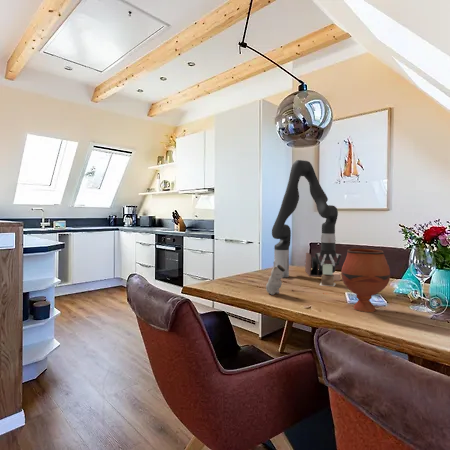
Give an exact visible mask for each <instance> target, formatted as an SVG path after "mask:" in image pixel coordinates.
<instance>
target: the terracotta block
mask: <svg viewBox="0 0 450 450" xmlns="http://www.w3.org/2000/svg"><path fill="white" fill-rule="evenodd" d="M332 275H334V281H337V282H338V281H341V279H342V275H341V273H339V272H334V273H333V274H332Z"/></svg>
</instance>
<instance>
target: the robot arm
mask: <svg viewBox="0 0 450 450" xmlns="http://www.w3.org/2000/svg"><path fill="white" fill-rule="evenodd" d="M301 177H304V178H305V179H306V181H307V182H308V185H309V193H310V196H311V197H312V199H313V201H314V203H315V206H316V209H317V212H318V214H319V216H320V217H321V218H323V219H325V222H322V224H321V235H320V236H321V237H320V252H317V253H315V254H314V255H315V256H314V257H315V258H316V260H317V264H318V266H319V265H321V271H322V272H323V263H324V264H325V261H331V264H333V270H332V273H336V267H337V266H339V265H340V260H341V257H342V254H341V253H337V252H336V223H337V220H338V215H339V212H338V208H337V206H335V205H333V204H332V205H331V204H329V205H328V203H327V202H328V200H329V198H328V196H327V194H326V192H325V191H324V189H323V188H322V186H321V184H320V181H319V179H318V177H317V175H316V173H315V170H314V167H313V165H312V163H311V162H310V161H308V160H304V159H303V160H301V159H297V160H294V161H293V163H292V164H291V167H290V171H289V177H288V182H287V186H286V189H285V193H284V195H283V198H282V200H281V205H280V208H279V211H278V215H277V216H276V219H275V220H274V223H273V226H272V228H271V236H272V238H273V239H275V240H279V241H278V242H277V243H276V244H274V248H273V249H274V250H273V251H274V252H273V253H274V257H273V258H274V259H273V265H272V266H273V268H274V267H277V265H281V266H282V267H283V268H284V269H285V271H284V272H283V277H282V278H289V276H290V275H289V274H290V247H291V238H292V237H291V236H292V233H291V232H292V230H291V226H289V225H288V224H285V223H286V221H287V220H288V218H289V217H291V215H292V214H293V213H294V211H296V209H297V208H298V207H297V206H298V204H299V200H300V191H299V182H300V179H301ZM320 256H321V258H322V259H321V261H322V262H320V261H319V260H320ZM335 257H336V258H337V260H336V261H335V260H334V258H335ZM273 268H272V269H273Z"/></svg>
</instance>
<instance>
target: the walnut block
mask: <svg viewBox="0 0 450 450" xmlns="http://www.w3.org/2000/svg"><path fill="white" fill-rule="evenodd" d="M321 282H322V285H321V286H324V285H330V286H329V287H334V286H333V284H334V283H335V282H334V275H330V274H322V277H321Z"/></svg>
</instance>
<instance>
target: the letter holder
mask: <svg viewBox="0 0 450 450" xmlns="http://www.w3.org/2000/svg"><path fill="white" fill-rule="evenodd" d="M319 261H320V262H322V259H321V260H320V259H319ZM323 264H325V262H324V263H323ZM304 265H305V267H304V272H305V273H306V274H307V275H308V276H309V277H312V278H313V277H315V278H318V277H319V278H322V274H323V272H322V271H321V265H319V264H317V260H316V256H312V255H311V253H309V252H306V253H305V264H304Z"/></svg>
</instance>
